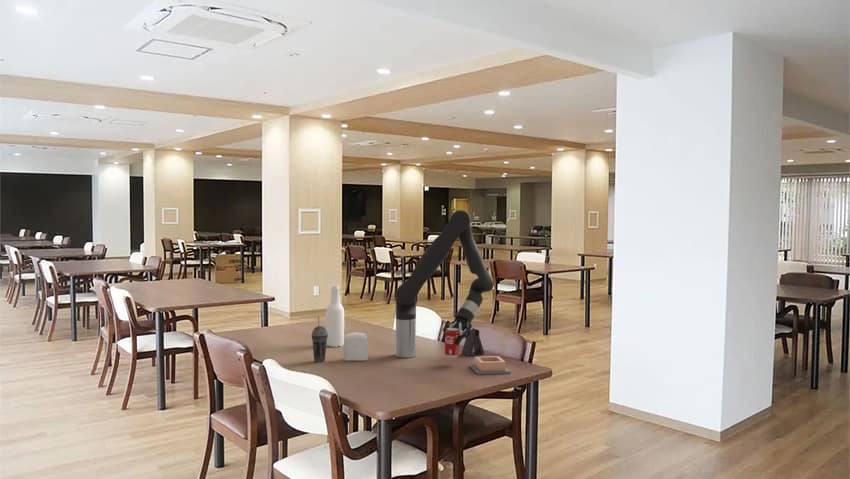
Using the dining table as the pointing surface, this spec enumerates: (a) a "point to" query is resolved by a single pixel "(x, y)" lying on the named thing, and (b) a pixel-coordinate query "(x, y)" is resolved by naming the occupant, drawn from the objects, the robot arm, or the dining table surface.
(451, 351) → the beverage can
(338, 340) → the alcohol
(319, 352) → the beverage cup
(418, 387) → the dining table surface
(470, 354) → the phone stand
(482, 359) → the holder
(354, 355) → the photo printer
